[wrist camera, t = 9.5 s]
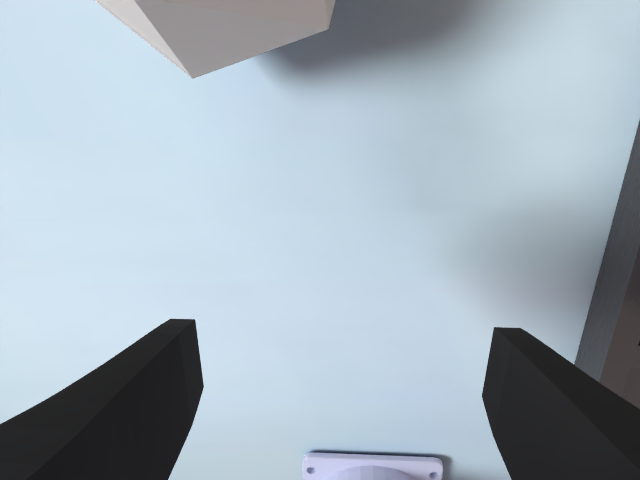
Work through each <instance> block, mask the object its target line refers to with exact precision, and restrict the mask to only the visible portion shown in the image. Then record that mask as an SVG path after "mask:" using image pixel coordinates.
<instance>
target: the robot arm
mask: <svg viewBox="0 0 640 480" xmlns="http://www.w3.org/2000/svg"><path fill="white" fill-rule="evenodd" d="M203 387H204V386H203V378H202V370H201V362H200V354H199V347H198V339H197V331H196V323H195V320H194V319H170V320H168V321H166V322H165V323H163V324H161V325H160V326H158V327H157V328H155V329H154V330H152V331H151V332H149V333H148V334H147V335H145V336H144V337H142V338H141V339H139V340H138V341H136V342H135V343H134V344H132V345H131V346H129V347H128V348H126V349H125V350H123V351H122V352H120V353H119V354H118V355H116V356H115V357H113V358H112V359H110V360H109V361H107V362H106V363H104V364H103V365H101V366H100V367H98V368H97V369H95V370H93V371H92V372H90V373H89V374H87V375H85V376H84V377H82V378H81V379H79V380H77V381H76V382H74V383H73V384H71V385H69V386H68V387H66V388H65V389H63V390H62V391H60V392H58V393H57V394H55V395H53V396H51V397H50V398H48V399H46V400H44V401H43V402H41V403H39V404H37V405H36V406H34V407H32V408H30V409H28V410H26V411H24V412H23V413H21V414H19V415H17V416H15V417H13V418H11V419H9V420H7V421H6V422H4V423H2V424H0V480H168V478H169V476H170V474H171V472H172V470H173V467H174V465H175V463H176V461H177V458H178V456H179V454H180V452H181V449H182V447H183V445H184V443H185V440H186V438H187V436H188V433H189V431H190V429H191V426H192V424H193V421H194V417H195V414H196V411H197V408H198V405H199V401H200V398H201V394H202V391H203ZM482 398H483V402H484V405H485V409H486V413H487V416H488V420H489V423H490V427H491V430H492V433H493V437H494V439H495V441H496V444H497V446H498V449H499V451H500V453H501V456H502V458H503V461H504V463H505V465H506V468H507V470H508V472H509V475H510V477H511V479H512V480H640V409H639V408H637V407H636V406H634V405H633V404H631V403H630V402H628V401H626V400H625V399H623V398H622V397H620V396H619V395H617V394H616V393H614V392H613V391H611V390H610V389H608V388H607V387H605V386H604V385H602V384H601V383H599V382H598V381H596V380H595V379H593V378H592V377H590V376H589V375H588V374H586V373H585V372H583V371H582V370H580V369H579V368H578V367H576V366H575V365H573V364H572V363H571V362H569V361H568V360H566V359H565V358H564V357H562V356H561V355H559V354H558V353H557V352H555V351H554V350H552V349H551V348H550V347H548V346H547V345H545V344H544V343H542V342H541V341H540V340H538V339H537V338H535V337H534V336H532V335H531V334H529V333H528V332H526V331H524V330H523V329H521V328H499V327H494V331H493V336H492V342H491V348H490V353H489V359H488V365H487V370H486V376H485V382H484V387H483V393H482ZM310 467H313V468H310ZM302 468H303V480H442V475H443V464H442V461H441V460H440V459H438V458H435V457H413V456H387V455H362V454H336V453H307V454H305V455H304V456H303V462H302ZM432 472H434V473H432Z"/></svg>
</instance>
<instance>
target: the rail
mask: <svg viewBox="0 0 640 480" xmlns="http://www.w3.org/2000/svg"><path fill="white" fill-rule="evenodd" d="M575 366H576V367H578V368H579V369H580V370H582V371H583V372H585V373H586V374H588V375H589V376H590V377H592V378H593V379H595V380H596V381H598V382H599V383H601V384H602V385H604V386H605V387H607V388H608V389H610V390H611V391H613V392H614V393H616V394H617V395H619V396H620V397H622V398H623V399H625V400H626V401H628V402H630V403H631V404H633V405H634V406H636V407H637V408H639V409H640V121H639V125H638V129H637V133H636V136H635V140H634V144H633V147H632V151H631V155H630V159H629V162H628V166H627V170H626V174H625V177H624V181H623V185H622V189H621V192H620V196H619V200H618V204H617V207H616V211H615V215H614V219H613V222H612V226H611V230H610V234H609V237H608V241H607V245H606V249H605V252H604V256H603V260H602V264H601V267H600V271H599V275H598V279H597V282H596V286H595V290H594V294H593V297H592V301H591V305H590V308H589V312H588V316H587V320H586V323H585V327H584V331H583V335H582V338H581V342H580V346H579V350H578V353H577V357H576V361H575Z"/></svg>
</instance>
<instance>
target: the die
mask: <svg viewBox="0 0 640 480" xmlns="http://www.w3.org/2000/svg"><path fill="white" fill-rule="evenodd" d="M95 1H96V2H97V3H99V4H100V5H101V6H102V7H104V8H105V9H106V10H107V11H109V12H110V13H111V14H112V15H114V16H115V17H116V18H117V19H119V20H120V21H121V22H122V23H124V24H125V25H126V26H127V27H129V28H130V29H131V30H132V31H134V32H135V33H136V34H137V35H139V36H140V37H141V38H142V39H144V40H145V41H146V42H147V43H149V44H150V45H151V46H152V47H154V48H155V49H156V50H157V51H159V52H160V53H161V54H162V55H164V56H165V57H166V58H167V59H169V60H170V61H171V62H172V63H174V64H175V65H176V66H177V67H179V68H180V69H181V70H182V71H184V72H185V73H186V74H187V75H189V76H190V77H191V78H192V79H193V78H196V77H199V76H201V75H204V74H207V73H210V72H212V71H215V70H218V69H221V68H223V67H226V66H229V65H232V64H234V63H237V62H240V61H243V60H245V59H248V58H251V57H254V56H256V55H259V54H262V53H265V52H267V51H270V50H273V49H276V48H278V47H281V46H284V45H287V44H289V43H292V42H295V41H298V40H300V39H303V38H306V37H309V36H311V35H314V34H317V33H320V32H322V31H325V30H328V29H329V26H330V22H331V17H332V13H333V9H334V5H335V1H336V0H95Z"/></svg>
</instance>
